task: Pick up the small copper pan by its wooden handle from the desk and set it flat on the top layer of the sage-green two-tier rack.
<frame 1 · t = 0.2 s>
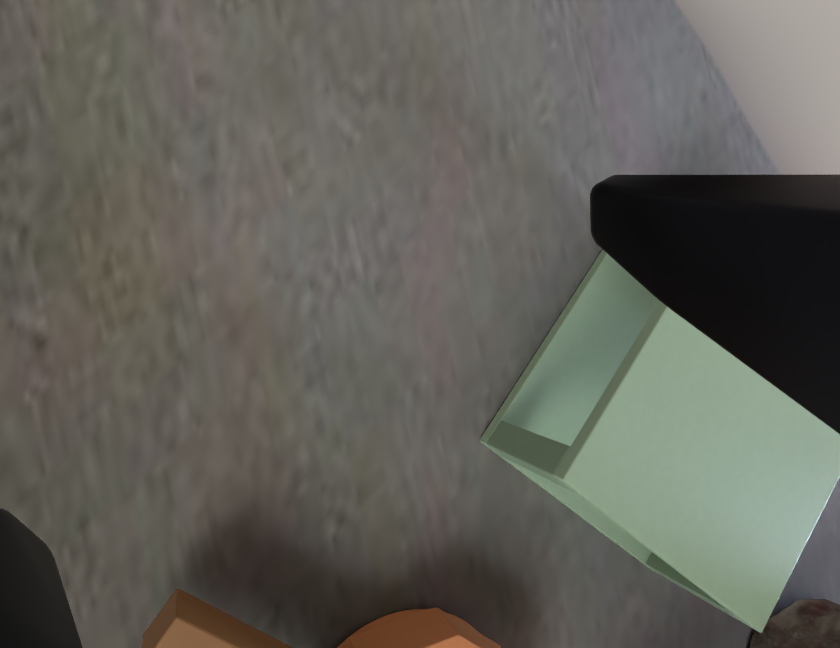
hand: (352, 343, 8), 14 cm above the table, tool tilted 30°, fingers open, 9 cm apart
shelf: (635, 401, 28), on the table
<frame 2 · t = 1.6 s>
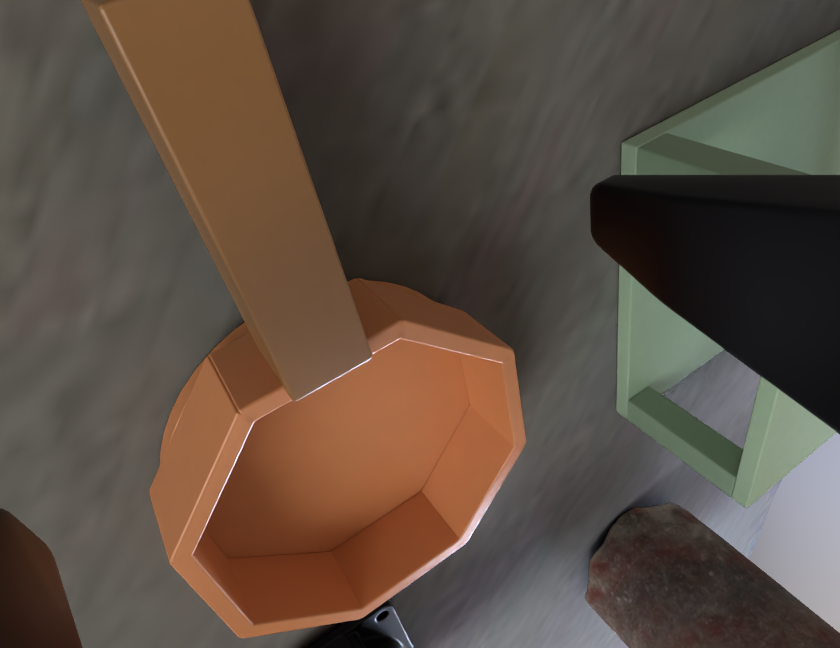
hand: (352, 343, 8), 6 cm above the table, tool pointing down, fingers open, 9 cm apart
pan: (331, 426, 17), on the table
shelf: (730, 229, 23), on the table
candle: (623, 541, 33), on the table
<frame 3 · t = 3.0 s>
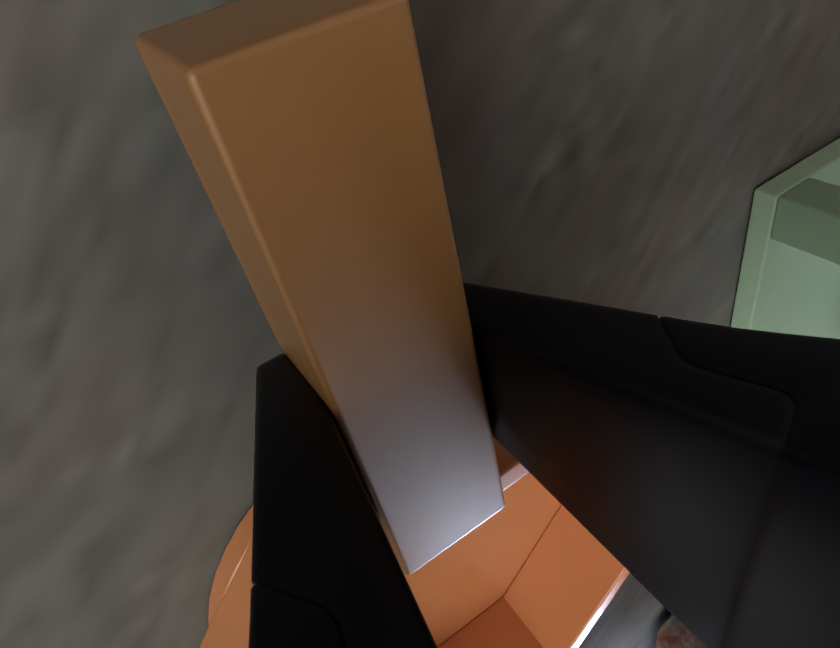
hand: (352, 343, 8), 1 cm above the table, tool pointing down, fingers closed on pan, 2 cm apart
pan: (409, 538, 14), on the table, touching gripper
candle: (688, 604, 30), on the table
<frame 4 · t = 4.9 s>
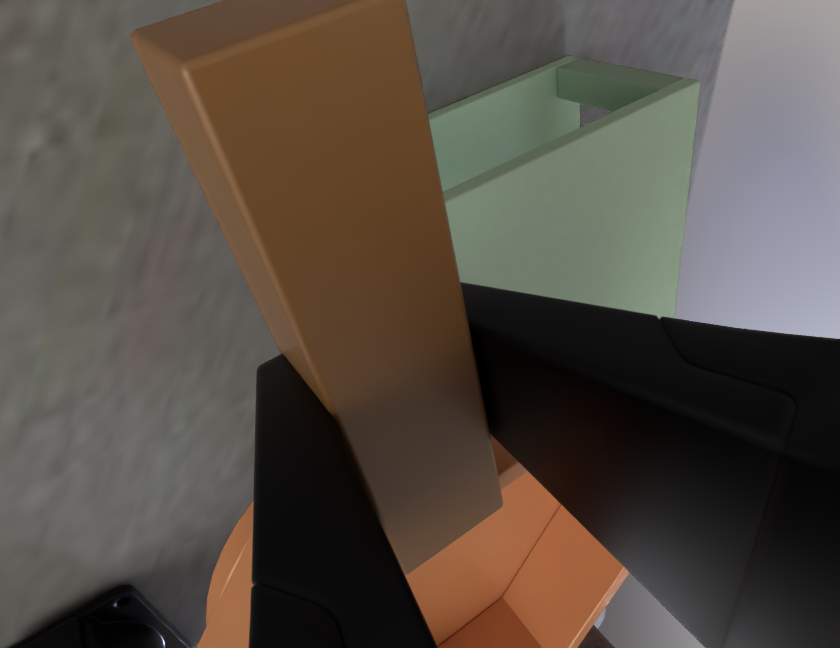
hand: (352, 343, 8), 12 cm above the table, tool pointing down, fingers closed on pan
pan: (407, 538, 14), point 11 cm above the table, touching gripper
shelf: (464, 248, 25), on the table
candle: (435, 541, 35), on the table
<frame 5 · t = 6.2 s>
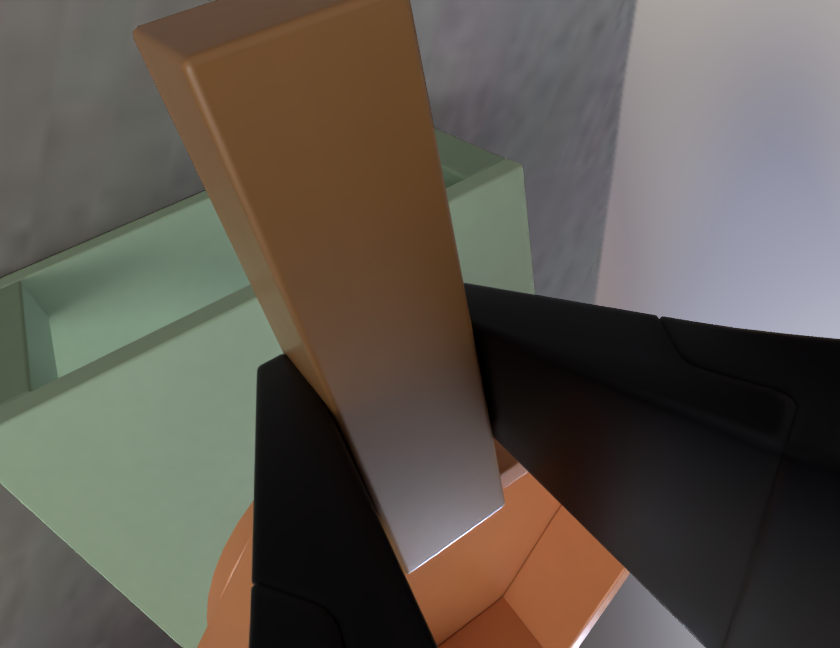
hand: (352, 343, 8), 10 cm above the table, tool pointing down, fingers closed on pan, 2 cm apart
pan: (408, 537, 14), point 8 cm above the table, touching gripper
shelf: (281, 351, 20), on the table
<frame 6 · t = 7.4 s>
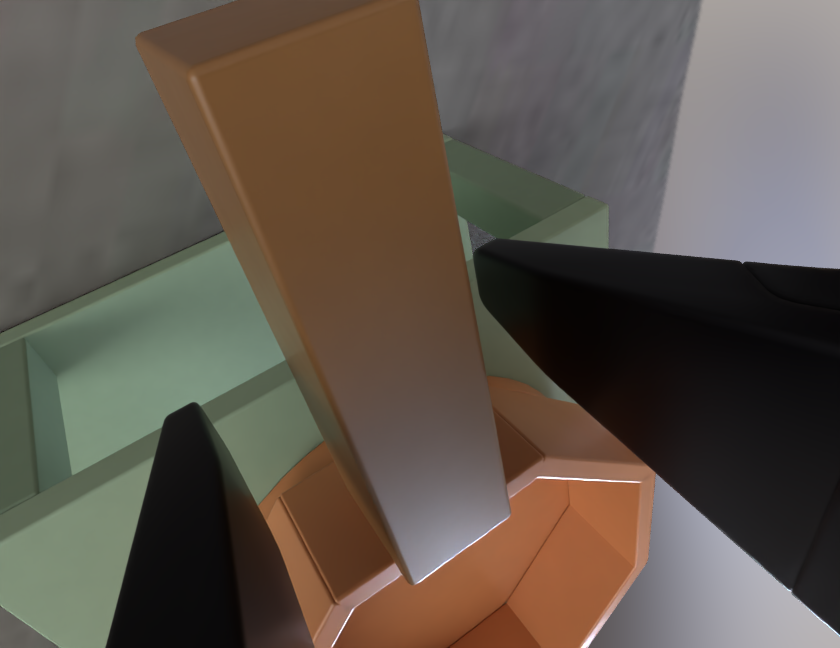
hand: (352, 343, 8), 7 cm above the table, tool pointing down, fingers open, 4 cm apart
pan: (411, 544, 13), point 6 cm above the table, touching shelf
shelf: (311, 397, 18), on the table
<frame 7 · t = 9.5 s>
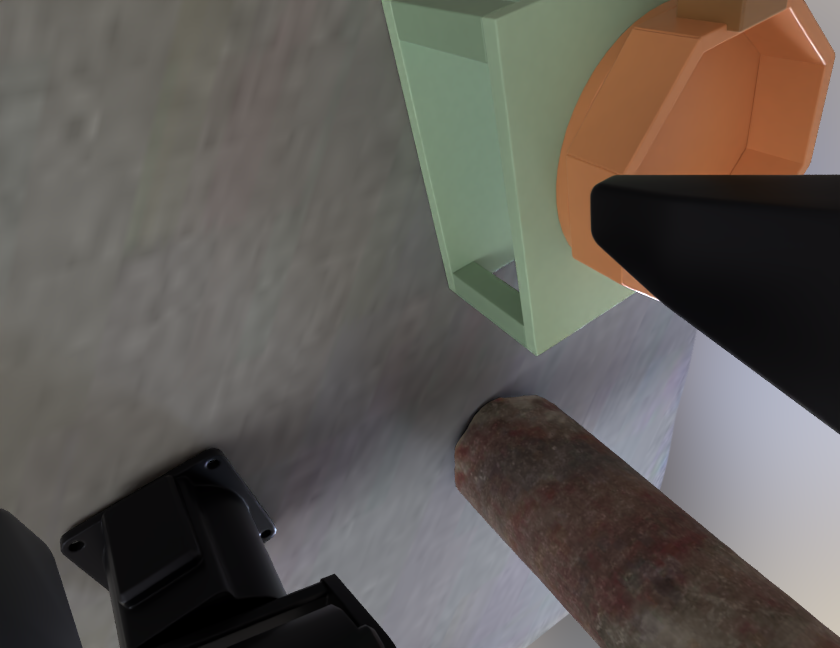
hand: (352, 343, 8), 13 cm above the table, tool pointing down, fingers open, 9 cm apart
pan: (656, 145, 20), point 6 cm above the table, touching shelf
shelf: (540, 108, 24), on the table
candle: (498, 436, 35), on the table
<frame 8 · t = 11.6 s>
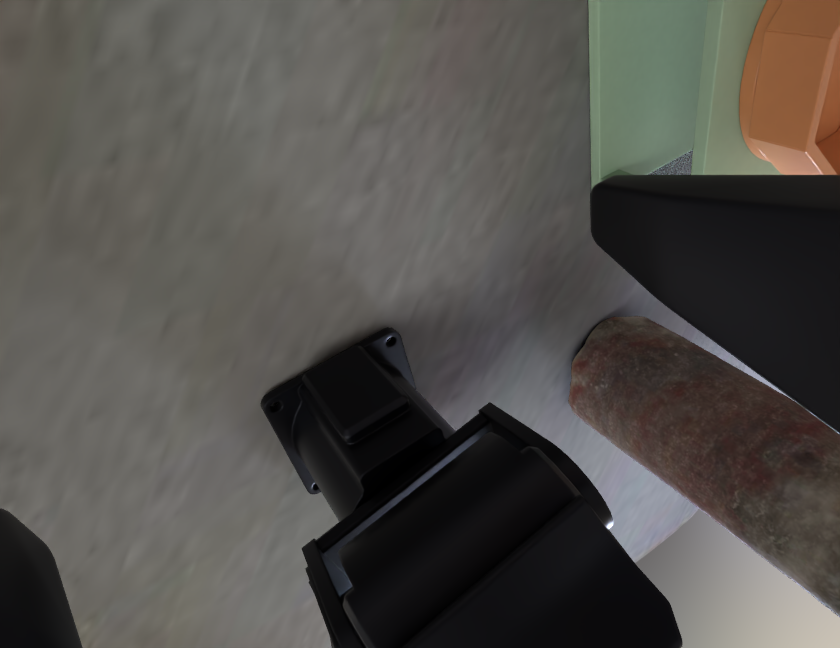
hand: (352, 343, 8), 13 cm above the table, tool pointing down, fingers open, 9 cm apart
pan: (818, 42, 23), point 6 cm above the table, touching shelf
shelf: (686, 27, 27), on the table
candle: (603, 360, 37), on the table
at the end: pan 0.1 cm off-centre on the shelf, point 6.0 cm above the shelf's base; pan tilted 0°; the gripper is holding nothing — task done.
